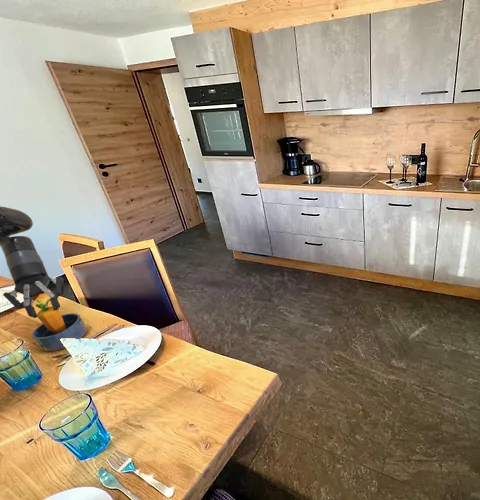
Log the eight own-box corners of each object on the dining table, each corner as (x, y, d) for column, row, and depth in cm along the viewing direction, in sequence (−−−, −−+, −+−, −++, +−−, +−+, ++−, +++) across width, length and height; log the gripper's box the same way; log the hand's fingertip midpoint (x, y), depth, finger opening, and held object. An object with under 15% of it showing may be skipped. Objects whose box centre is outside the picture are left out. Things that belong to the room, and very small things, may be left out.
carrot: (57, 333, 99) (31, 298, 92) (75, 328, 101) (51, 294, 93) (51, 343, 95) (25, 307, 88) (70, 337, 97) (46, 302, 90)
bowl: (35, 357, 91) (24, 344, 88) (49, 333, 101) (40, 320, 98) (82, 343, 96) (73, 330, 93) (92, 321, 105) (84, 309, 102)
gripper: (-13, 271, 86) (7, 322, 84) (51, 254, 95) (71, 300, 92) (1, 279, 92) (20, 326, 90) (59, 262, 101) (78, 305, 98)
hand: (45, 313), depth 91 cm, fingers closed on carrot, 4 cm apart
